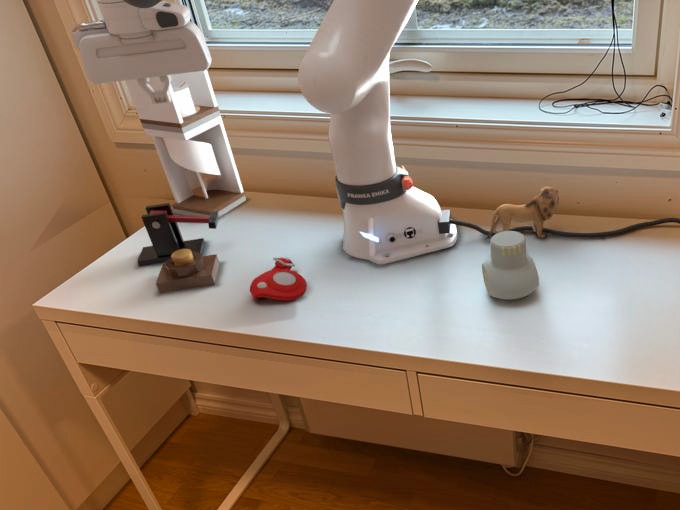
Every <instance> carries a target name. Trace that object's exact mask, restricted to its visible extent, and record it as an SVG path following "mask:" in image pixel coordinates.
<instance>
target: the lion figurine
mask: <svg viewBox="0 0 680 510" xmlns="http://www.w3.org/2000/svg"><path fill="white" fill-rule="evenodd" d="M558 193H559V189H558V188H556V187H553V186H550V185H549V186H544V187H542V188H541V189H539V193H538V194H537V195H536V196H535V197H533V199H532V200H530V201H529V202H528V203H526V204H511V203H504V204H501V205H499V206H498V207H497V208H496V209H495V210H494V212H493V215H492V218H491V223H490V230H489V231H490V232H489V234H488V235H486V236H485V239H486V240H489V239H491V238H492V236H491V235H492V232H493V233H496V234H497V232H498V231H499V230H497V229H498V228H499V226H501V225H502V231H508V230H509V229H510V227H511V224H512V221H514V222H515V223H517V224H522V225H526V224H532V226H533V227H532V228H533V229H534V230H533V232H534V233H536V234H537V237H538V238H540V239H544V238H545V237H546V234H545V233H544V232H542V229H543V228H544V222H545V221H547V220H550V219H551V218H552V217H553V215H554V213H555V212H556V210H557V209H558V206H559V203H560V197H559V194H558Z"/></svg>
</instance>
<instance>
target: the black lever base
mask: <svg viewBox="0 0 680 510" xmlns="http://www.w3.org/2000/svg"><path fill="white" fill-rule="evenodd" d="M151 210H163V211H167V213H166V212H161V213H154V214H150V212H151ZM145 211H146V212H147V213H146V214H142V215H141V220H142V222H143V225H144V227H145V230H146V233H147V235H148V237H149V240H150V242H151V245H148V246H142V249H141V251H140V253H139V256H138V258H137V261H136V262H137V264H138V266H139V267H146V266H152V265H158V264H163V262H166V261H167V260H168V259H169V258H171V255H172V253H174V252H175V251H177V250H181V249H190V250H191V251H194V252H199V253H200V254H201V255H202V256H203V253H204V250H205V246H206V241H205V238H203V237H201V238H195V239H189V240H184V238H183V236H182V233H181V229H180V227H179V225H178V222H170V221H169V219H168V216H167V215H175V213H174V210H173V207H172V205H171V203H170V202H166V203H160V204H153V205H146V206H145Z"/></svg>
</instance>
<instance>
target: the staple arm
mask: <svg viewBox="0 0 680 510" xmlns="http://www.w3.org/2000/svg"><path fill="white" fill-rule="evenodd" d="M161 212H166V213H167V211H163V210H151V212H150V214H154V213H161ZM167 216H168V219H169V221H170V222H177V223H180V224H181V223H184V224H185V223H187V224H207V225H208V229H213V230H216V229H217V227H218V223H219V219H220V217H219V214H218V212H215V211H211V214H210V216H185V215H178V214H174V215H167Z"/></svg>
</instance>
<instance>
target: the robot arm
mask: <svg viewBox="0 0 680 510" xmlns="http://www.w3.org/2000/svg"><path fill="white" fill-rule="evenodd" d="M418 2H419V0H333V1H332V2H331V5H330V6H329V7H328V10H327V12H326V13H325V16H324V17H323V19H322V21H321V22H320V25H319V26H318V28H317V29H316V30H317V31H316V32H315V35H314V36H313V38H312V40H311V42H310V44H309V46H308V48H307V50H306V52H305V54H304V56H303V58H302V60H301V63H300V65H299V67H298V72H297V81H298V82H297V83H298V87H299V90H300V93H301V95H302V96H303V98H304V99H305V100H306V102H307V103H308V104H309V105H310V106H312V107H313V108H314V109H316V110H318V111H319V112H322V113H326V114H329V115H330V117H329V128H328V142H329V146H330V151H331V156H332V161H333V165H334V170H335V177H334V178H335V183H334V185H335V190H336V195H337V199H338V204H339V205H340V208H341V209H342V219H343V220H342V221H343V241H342V249H343V251H344V252H345V253H346V254H348V255H349V256H351V257H354V258H357V259H361V260H367V261H370V262H372V263H374V264H376V265H385V264H390V263H394V262H398V261H402V260H406V259H410V258H414V257H418V256H421V255H426V254H429V253H433V252H438V251H441V250H444V249H445V250H446V249H448V248H451V247H453V246H454V245H455V244H456V243H457V240H458V231H457V230H458V229H457V226H460V227H466V228H469V229H473V230H474V231H477V232H479V233H480V234H482V235H484V236H487V235H488V234H489V232H490V230H486V229H484V228H482V227H481V226H479V225H477V224H474V223H472V222H467V221H463V220H457V219H452V213H451V209H442V208H441V205H440V204H439V202H438V201H437V200H436V199H435V197H434V196H433V195H431V194H430V193H428V192H425V191H423V190H421V189H419V188H417V187H415V186H414V183H413V182H414V181H413V179H412V177H411V176H409V172H408V171H407V170H406V168H405V166H404V165H401V167H400V166H398V165H397V164H396V157H395V150H394V145H393V144H394V143H393V136H392V131H391V130H392V129H391V88H390V53H391V51H392V48H393V47H394V45H395V44H396V42H397V40H398V38H399V36H400V34H401V33H402V31H403V30H404V28H405V26H406V25H407V23H408V22H409V19H410V17H411V16H412V13H413V12H414V10H415V8H416V5H417V4H418ZM96 3H97V6H98V8H99V11H100V14H101V16H102V19H103V20H102V19H101V20H95V21H90V22H79V23H77V24H76V26H74V27H73V28H72V30H71V33H70V34H71V38H72V42H73V43H74V46H75V47H76V50H78V51H79V55H80V59H81V62H82V65H83V69H84V72H85V75H86V78H87V79H88V80H89V81H90V82H91V83H93V84H94V85H101V84H108V83H116V82H117V83H118V82H124V81H125V82H126V80H134V79H137V81H138V84H139V86H140V87H141V88H142V89H143V90H144V91H145V92H146V93H147V94H149V95H150V97H151V100H152V103H153V104H160V103H168V102H171V96H170V93H169V87H170V83H171V76H170V75H174V74H182V73H190V72H198V71H206V70H207V71H208V70H209V68H210V67H211V65H212V61H213V59H212V56H211V53H210V52H211V51H210V50H209V47H208V44H207V41H206V39H205V37H204V35H203V33H202V30H201V29H200V27H198V25H197V24H196V23H194V22H193V21H191V18H192V14H191V10H190V8H189V6H187V5H185V4H181V3H175V2H171V1H165V0H96ZM158 76H159V78H160V81H161V82H162V83H163V82H165V84H164V89H163V90H162V91H155V90H154V89H153V88H152V87H151V86H150V85H149V84H148V82H149V78H150V77H158ZM668 223H669V224H670V223H675V224H679V225H680V218H678V217H665V218H660V219H655V220H651V221H644V222H643V221H642V222H639V223H634V224H632V225H629V226H625V227H623V228H619V229H615V230H609V231H599V232H598V231H597V232H575V231H574V232H572V231H571V232H570V231H561V230H556V229H551V228H547V227H543V229H542V233H544V234H545V233H546V234H549V235H553V236H559V237H566V238H584V239H585V238H587V239H589V238H604V237H612V236H617V235H622V234H624V233H628V232H630V231H633V230H636V229H641V228H642V229H643V228H646V227H652V226H659V225H663V224H668ZM532 227H533V225H521V226H516V227H511V228H509V230H508V231H516V232H525V231H526V232H528V231H529V232H530V231H531V232H532V231H533V230H534V229H533V228H532ZM497 231H498V232H497V233H499V232H503V230H497ZM533 232H534V231H533ZM495 234H496V233H493V232H492V235H491V237H493V236H494V235H495Z"/></svg>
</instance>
